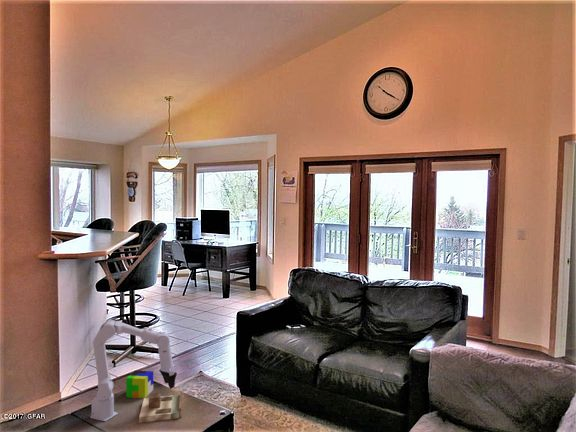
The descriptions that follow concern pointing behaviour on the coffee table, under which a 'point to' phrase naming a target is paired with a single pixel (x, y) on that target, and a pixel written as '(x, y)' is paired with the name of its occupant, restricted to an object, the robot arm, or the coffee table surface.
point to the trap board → (162, 409)
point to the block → (154, 400)
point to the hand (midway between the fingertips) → (169, 385)
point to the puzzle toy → (139, 384)
